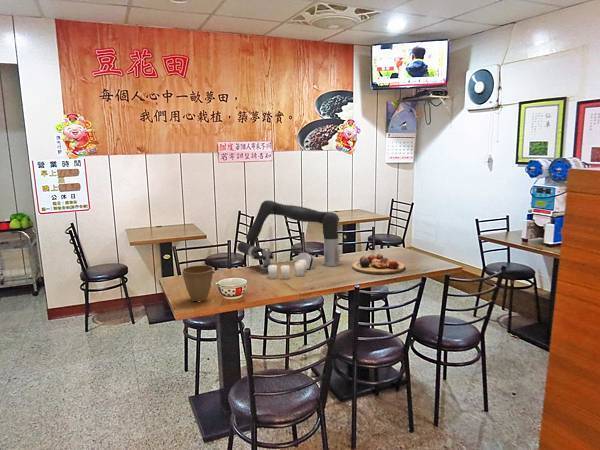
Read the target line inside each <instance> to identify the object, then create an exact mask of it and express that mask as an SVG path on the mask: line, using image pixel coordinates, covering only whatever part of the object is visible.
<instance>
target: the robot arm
mask: <svg viewBox="0 0 600 450" xmlns="http://www.w3.org/2000/svg"><path fill="white" fill-rule="evenodd" d="M271 215H276V216H283V217H285V218H287V219H290V220H294V221H298V222H302V223H319V224H322V234H323V258H324V259H323V260H324V261H323V265H324V266H327V267H337V266H340V263H341V262H340V259H341V258H340V250H339V232H338V224H339V223H340V217H339V216H338V215H337V214H336V213H334V212H330V211H329V212H327V211H319V210H315V209H311V208H308V207H303V206H299V205H291V204H289V205H288V204H283V203H279V202H276V201H273V200H268V199H267V200H264V201H262V203H260V206H259V209H258V212H257V215H256V216H255V219H254V222H253V223H252V226H251V227H250V229H249V230H248V232H247V234H246V236H245V239H246V240H247V241H248V242H249V243H247V242H245V241H241V242H239V243H238V244H237V246H236V247H237V250H238V252H239V253H242V254H245V255H248V256H249V257H251V259H252V260H257V261H260V260H262V261H263V260H266V257H265V256H263V249H264V248H261V247H259V246H255V244H256V241H257V239H258V237H259V235H260V233H261V232H262V228H263V225H264V223H265V221H266V220H267V218H268V217H269V216H271ZM273 259H274V254H273V252H272V251H271V250H270V260H273Z"/></svg>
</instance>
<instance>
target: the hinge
mask: <svg viewBox="0 0 600 450" xmlns="http://www.w3.org/2000/svg"><path fill="white" fill-rule="evenodd" d="M298 260H306V263H307V269H309V270H311V271H312V270H313V269H314V268H313V267H314V263H315V257H314V256H313V255H312V254H310V253H307V252H300V253H298V256H297V259H296V261H295V262H294V263H293V265H294V266H295V263H298Z"/></svg>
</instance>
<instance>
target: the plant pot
mask: <svg viewBox="0 0 600 450" xmlns="http://www.w3.org/2000/svg"><path fill="white" fill-rule="evenodd" d="M181 272H182V277H183V280H184V284H185V289H186V290H187V294H188V296H189V298H190V300H191V302H193V301H204V300H206V299H207V300H208V298H209V293H210V291H211V286H212V282H213V275H214V274H213V273H214V267H213V266H211V265H192V266H187V267H184V268H183V269H181ZM207 300H206V301H207ZM204 302H205V301H204Z"/></svg>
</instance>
